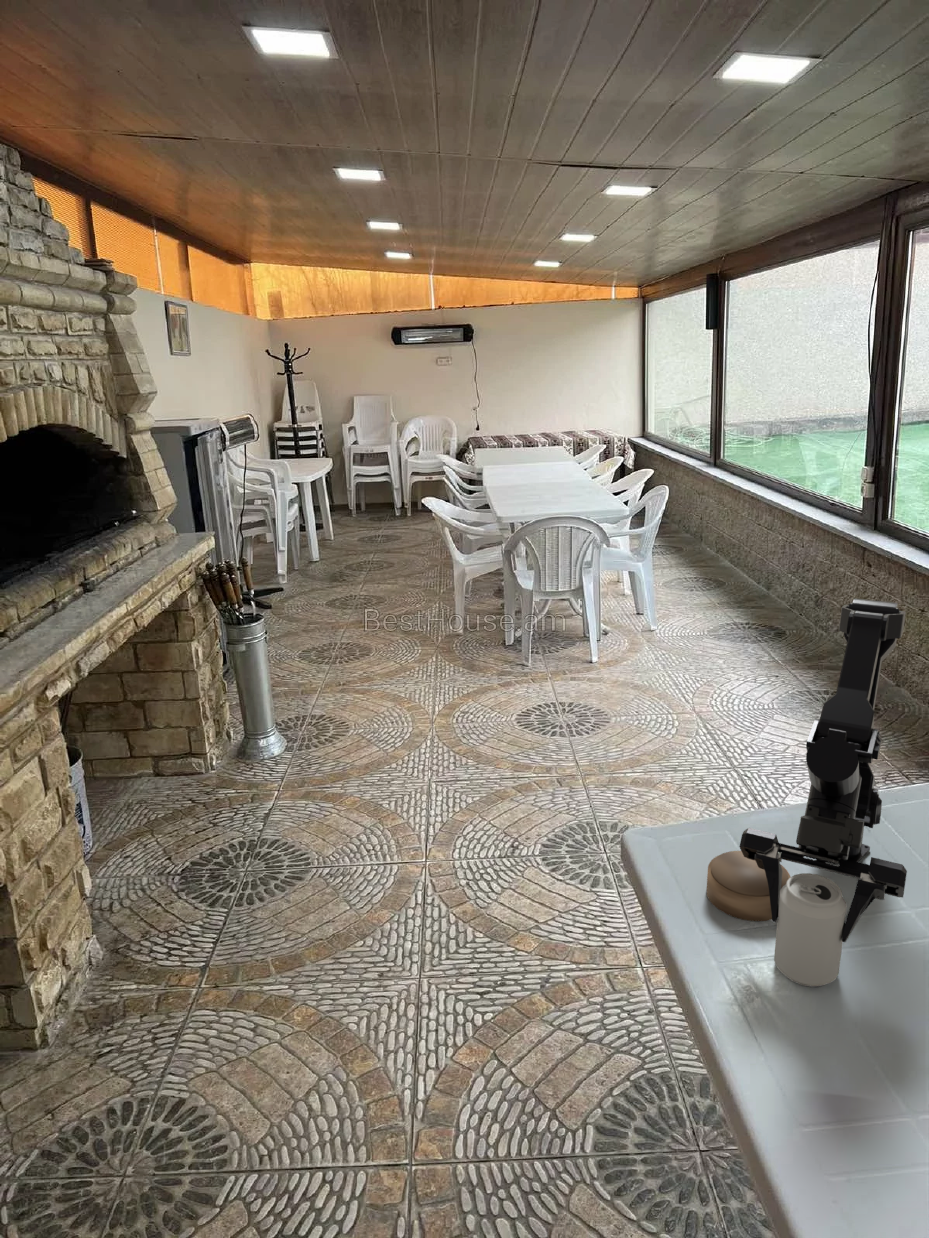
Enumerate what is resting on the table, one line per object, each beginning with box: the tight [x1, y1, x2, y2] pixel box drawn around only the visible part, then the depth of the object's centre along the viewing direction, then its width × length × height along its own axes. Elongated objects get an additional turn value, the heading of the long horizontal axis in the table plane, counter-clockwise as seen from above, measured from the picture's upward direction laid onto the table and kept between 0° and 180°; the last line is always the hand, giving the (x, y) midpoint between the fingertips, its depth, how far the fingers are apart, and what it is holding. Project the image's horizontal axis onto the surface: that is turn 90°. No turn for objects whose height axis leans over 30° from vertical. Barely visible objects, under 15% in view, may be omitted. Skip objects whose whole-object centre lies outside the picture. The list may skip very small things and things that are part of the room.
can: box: [773, 872, 848, 988], centre depth 104 cm, size 8×8×12 cm
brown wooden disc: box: [706, 850, 791, 922], centre depth 120 cm, size 11×11×4 cm
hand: (808, 931), depth 103 cm, fingers closed on can, 7 cm apart
